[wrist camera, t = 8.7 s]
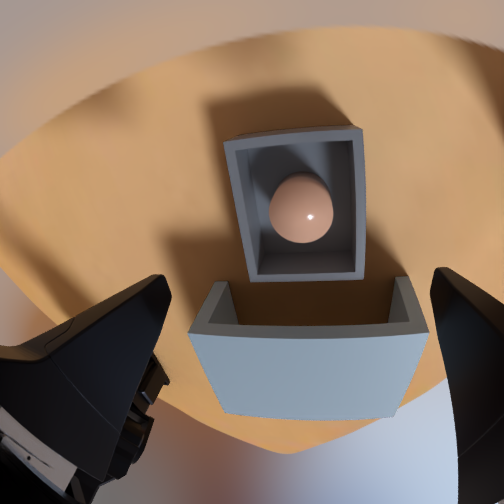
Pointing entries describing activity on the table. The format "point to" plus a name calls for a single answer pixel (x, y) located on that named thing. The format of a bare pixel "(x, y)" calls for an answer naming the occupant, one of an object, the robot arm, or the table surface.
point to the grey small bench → (310, 361)
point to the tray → (266, 182)
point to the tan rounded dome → (301, 207)
